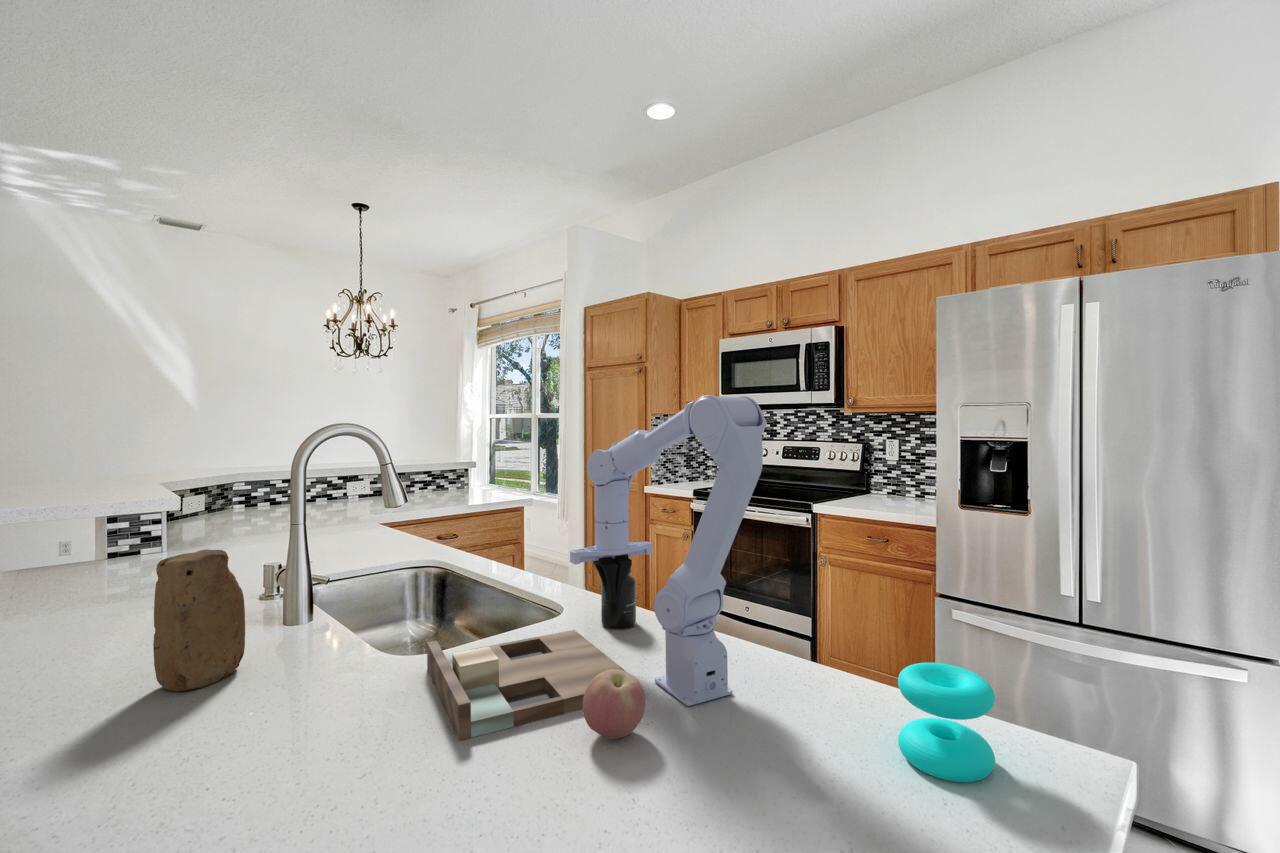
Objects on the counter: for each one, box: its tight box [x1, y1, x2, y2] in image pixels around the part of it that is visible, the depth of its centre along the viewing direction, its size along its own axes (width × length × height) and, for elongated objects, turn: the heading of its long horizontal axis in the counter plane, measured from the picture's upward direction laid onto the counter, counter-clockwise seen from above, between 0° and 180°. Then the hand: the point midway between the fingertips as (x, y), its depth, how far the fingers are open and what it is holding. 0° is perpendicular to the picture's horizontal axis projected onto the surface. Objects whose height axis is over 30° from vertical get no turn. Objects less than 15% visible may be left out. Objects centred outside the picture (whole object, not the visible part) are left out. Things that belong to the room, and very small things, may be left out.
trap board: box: [426, 629, 626, 742], centre depth 92 cm, size 24×26×4 cm
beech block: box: [451, 646, 499, 691], centre depth 88 cm, size 6×6×4 cm
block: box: [152, 549, 246, 692], centre depth 94 cm, size 11×8×20 cm
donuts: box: [897, 662, 996, 783], centre depth 69 cm, size 10×10×10 cm
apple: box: [582, 669, 646, 740], centre depth 76 cm, size 8×8×8 cm
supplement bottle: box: [600, 566, 637, 630], centre depth 117 cm, size 7×7×12 cm
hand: (612, 601), depth 101 cm, fingers closed
